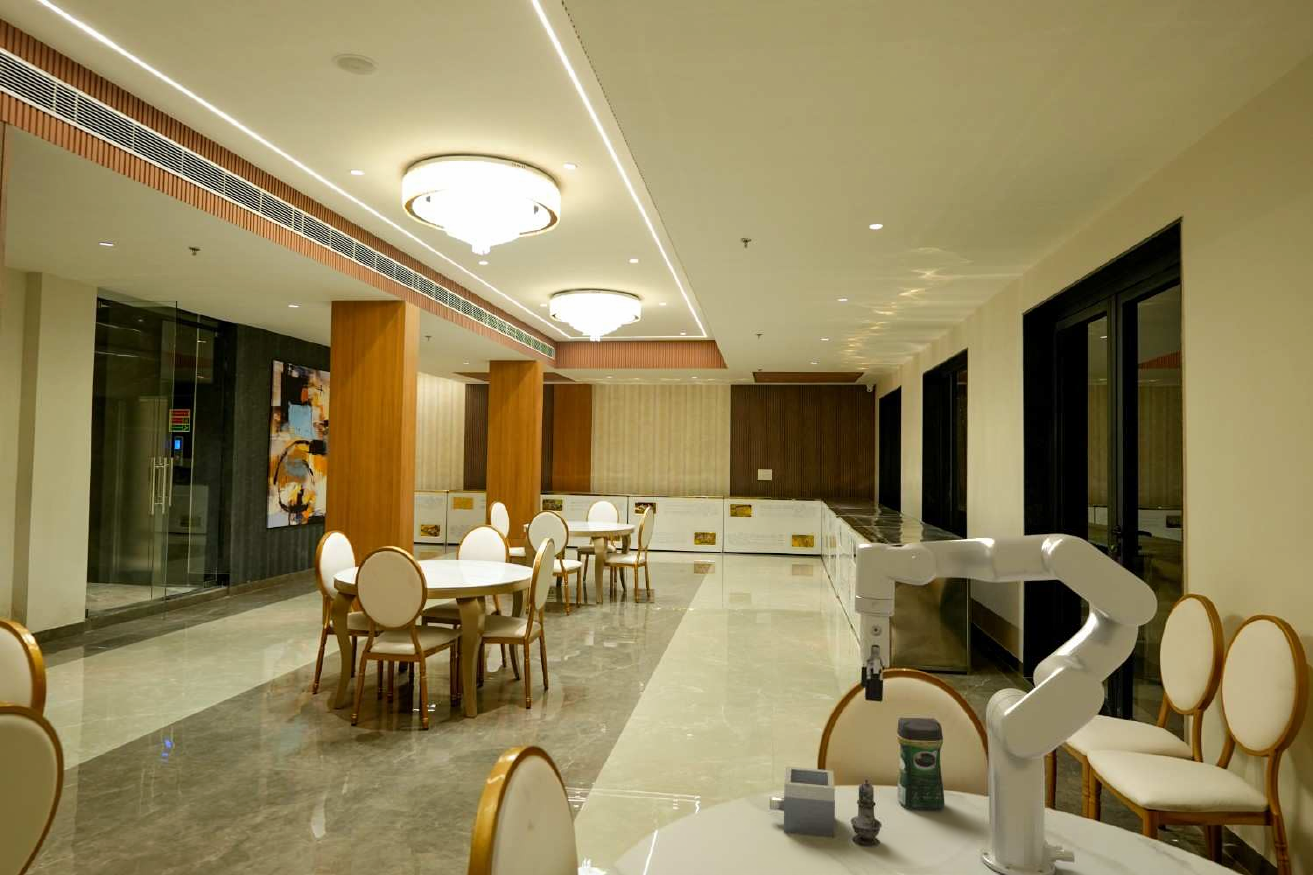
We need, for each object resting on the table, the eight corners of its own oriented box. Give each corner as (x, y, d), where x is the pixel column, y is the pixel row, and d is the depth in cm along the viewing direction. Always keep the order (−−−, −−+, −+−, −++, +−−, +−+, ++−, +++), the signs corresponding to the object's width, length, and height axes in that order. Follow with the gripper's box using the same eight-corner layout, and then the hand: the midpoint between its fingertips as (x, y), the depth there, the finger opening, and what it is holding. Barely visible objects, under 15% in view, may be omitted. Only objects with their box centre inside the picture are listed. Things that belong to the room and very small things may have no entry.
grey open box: (833, 812, 165) (833, 767, 165) (834, 837, 153) (835, 788, 154) (771, 806, 167) (771, 761, 168) (768, 830, 156) (769, 782, 156)
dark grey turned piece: (845, 836, 154) (845, 774, 155) (870, 832, 156) (870, 771, 156) (861, 849, 148) (861, 785, 149) (887, 845, 150) (887, 782, 151)
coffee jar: (936, 797, 174) (936, 713, 175) (948, 812, 166) (948, 724, 167) (893, 796, 174) (893, 712, 175) (903, 811, 166) (902, 723, 167)
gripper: (899, 614, 144) (896, 708, 143) (889, 600, 161) (886, 684, 160) (857, 611, 145) (854, 703, 144) (852, 598, 162) (849, 680, 161)
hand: (871, 693), depth 152 cm, fingers open, 9 cm apart
